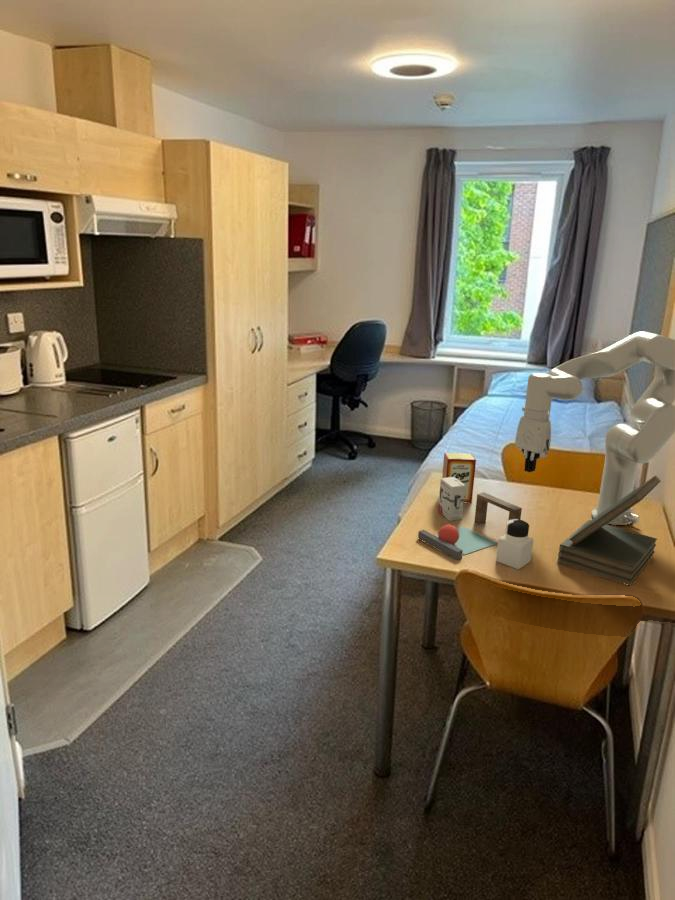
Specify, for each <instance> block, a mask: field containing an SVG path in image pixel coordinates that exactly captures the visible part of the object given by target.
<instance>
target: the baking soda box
mask: <svg viewBox="0 0 675 900" xmlns="http://www.w3.org/2000/svg"><path fill="white" fill-rule="evenodd" d="M442 464H443V465H442V477H441V478H447V477H455V478H456V479H458V480H459V481H460V482H462V483H463V484H465V493H464V502H470V503H469V504H472V503H473V496H474V495H473V494H474V483H475V472H476V465H477V459H476V457H475V456H474V455H473V454H472V453H465V452H463V453H460V452H444V455H443V463H442Z"/></svg>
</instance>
